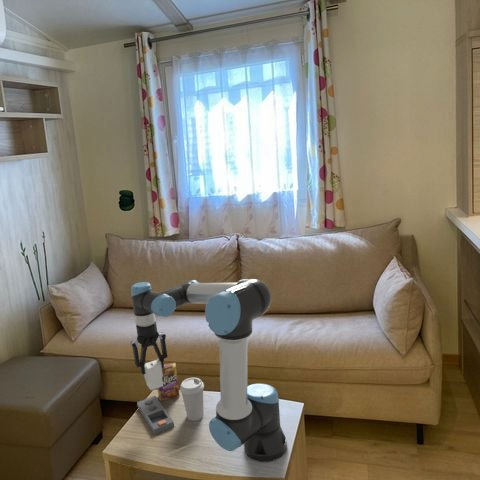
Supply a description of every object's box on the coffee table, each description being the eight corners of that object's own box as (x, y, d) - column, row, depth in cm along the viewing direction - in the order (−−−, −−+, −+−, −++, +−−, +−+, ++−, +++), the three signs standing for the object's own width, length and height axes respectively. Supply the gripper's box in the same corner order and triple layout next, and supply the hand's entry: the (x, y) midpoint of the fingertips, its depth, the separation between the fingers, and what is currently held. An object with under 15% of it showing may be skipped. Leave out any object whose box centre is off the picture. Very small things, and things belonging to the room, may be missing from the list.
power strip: (174, 427, 179) (173, 420, 178) (154, 435, 175) (153, 428, 175) (156, 400, 198) (155, 394, 197) (137, 407, 194) (136, 400, 194)
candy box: (159, 402, 197) (154, 369, 193) (158, 396, 201) (154, 365, 197) (180, 398, 199) (175, 365, 195) (179, 392, 203) (175, 361, 199)
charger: (163, 385, 180) (160, 364, 178) (150, 390, 177) (147, 369, 175) (158, 380, 184) (155, 359, 182) (146, 384, 182) (143, 363, 180)
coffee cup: (203, 424, 179) (199, 390, 176) (180, 423, 181) (175, 389, 178) (210, 409, 188) (206, 376, 185) (187, 408, 190) (183, 376, 187)
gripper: (164, 313, 182) (172, 366, 187) (119, 326, 173) (128, 381, 179) (171, 319, 175) (179, 374, 181) (125, 333, 167) (134, 390, 173)
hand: (153, 378), depth 180 cm, fingers closed on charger, 5 cm apart
